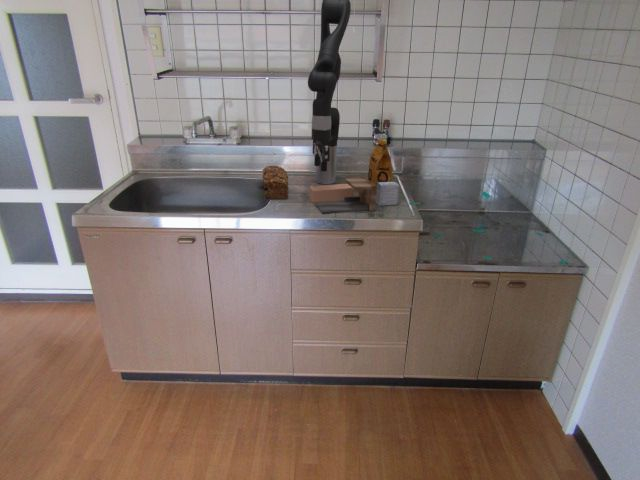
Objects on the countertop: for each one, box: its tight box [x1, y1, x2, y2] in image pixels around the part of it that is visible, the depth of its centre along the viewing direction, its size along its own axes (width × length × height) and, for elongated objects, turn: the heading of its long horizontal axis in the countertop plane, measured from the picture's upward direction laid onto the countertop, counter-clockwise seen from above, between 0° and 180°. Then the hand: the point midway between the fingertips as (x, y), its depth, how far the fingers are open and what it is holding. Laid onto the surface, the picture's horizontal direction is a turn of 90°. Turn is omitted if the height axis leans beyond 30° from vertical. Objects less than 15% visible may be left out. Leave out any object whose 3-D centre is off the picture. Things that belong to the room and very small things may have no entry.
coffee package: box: [367, 138, 393, 193], centre depth 190 cm, size 10×12×22 cm
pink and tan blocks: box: [314, 176, 376, 215], centre depth 172 cm, size 12×21×10 cm, turn 108°
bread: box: [262, 165, 289, 200], centre depth 186 cm, size 19×11×10 cm, turn 6°
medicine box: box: [375, 181, 400, 207], centre depth 178 cm, size 8×4×9 cm, turn 102°
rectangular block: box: [308, 183, 356, 204], centre depth 182 cm, size 6×18×5 cm, turn 108°
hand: (320, 168), depth 176 cm, fingers open, 8 cm apart
